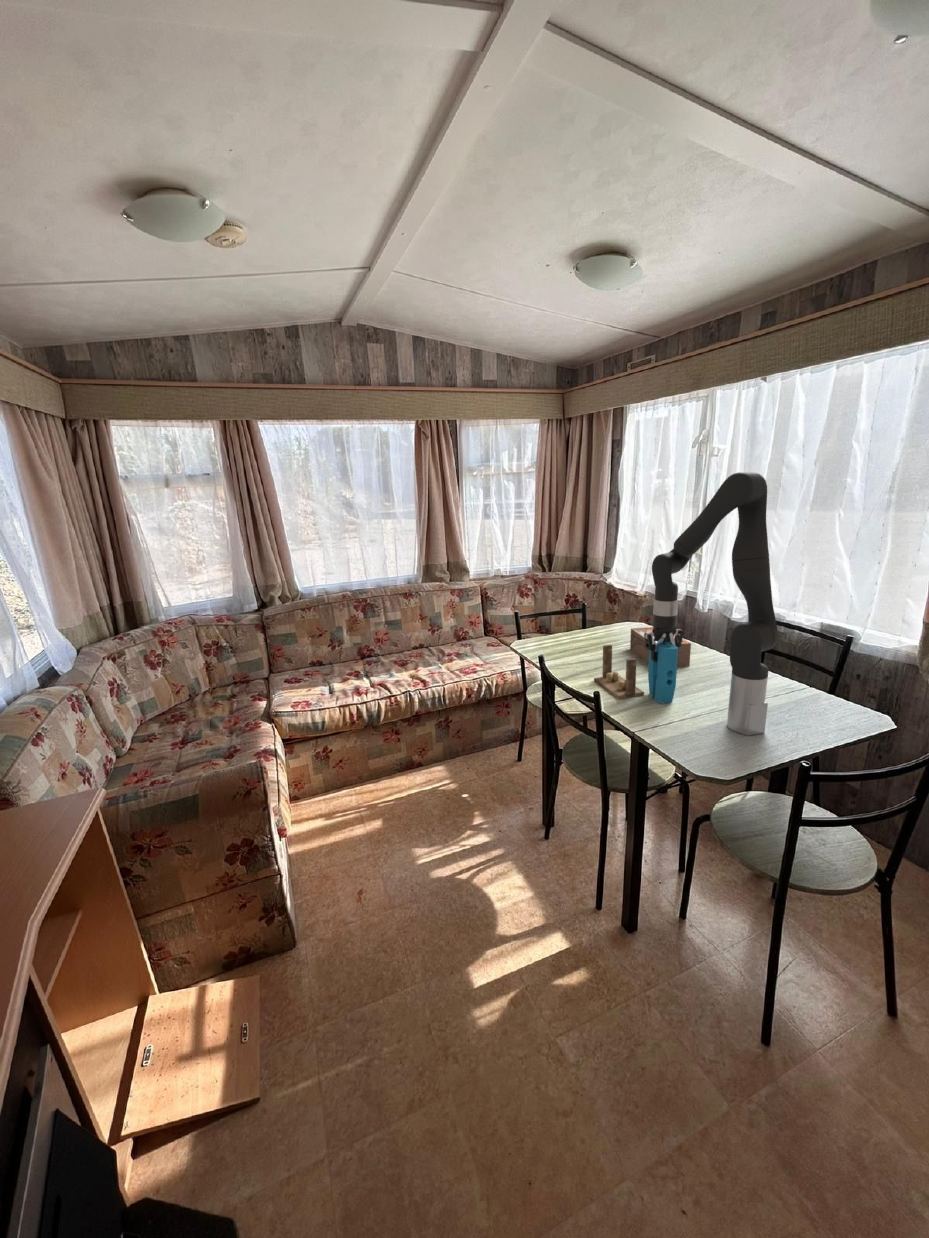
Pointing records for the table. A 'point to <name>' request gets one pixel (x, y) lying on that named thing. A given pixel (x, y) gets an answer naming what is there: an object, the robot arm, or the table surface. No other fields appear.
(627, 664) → the peg stand
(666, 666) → the block
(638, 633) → the tissue box cover
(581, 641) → the table surface
